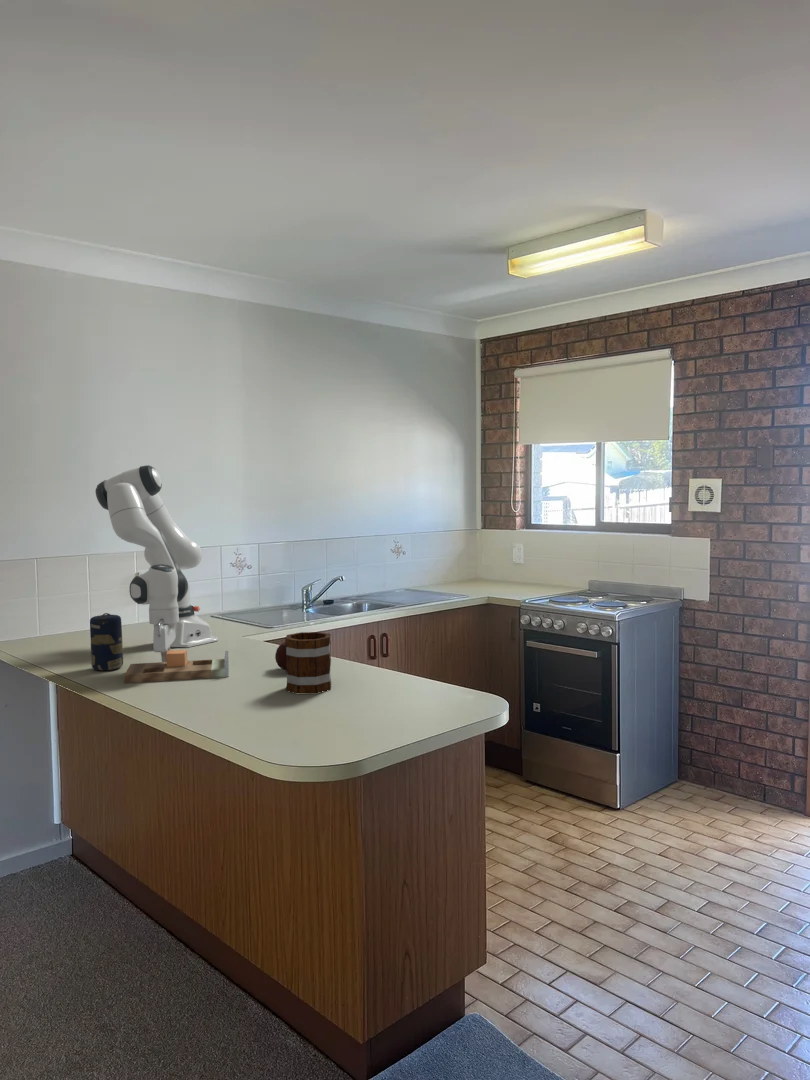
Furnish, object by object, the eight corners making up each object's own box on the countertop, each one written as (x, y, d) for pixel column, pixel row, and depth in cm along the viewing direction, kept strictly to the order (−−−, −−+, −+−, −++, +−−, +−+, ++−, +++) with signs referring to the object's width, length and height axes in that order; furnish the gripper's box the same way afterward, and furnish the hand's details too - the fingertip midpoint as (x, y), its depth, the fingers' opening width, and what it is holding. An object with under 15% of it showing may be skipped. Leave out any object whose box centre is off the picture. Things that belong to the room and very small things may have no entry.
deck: (124, 683, 233) (124, 674, 233) (130, 671, 248) (130, 663, 248) (225, 677, 239) (224, 668, 239) (225, 666, 254) (225, 658, 254)
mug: (319, 696, 216) (318, 642, 215) (276, 692, 221) (275, 639, 220) (349, 679, 234) (348, 629, 233) (308, 676, 239) (307, 627, 238)
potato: (293, 665, 255) (292, 636, 254) (312, 671, 245) (311, 642, 245) (269, 669, 250) (268, 640, 249) (287, 675, 240) (287, 645, 239)
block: (166, 666, 243) (166, 653, 243) (169, 662, 248) (169, 650, 248) (184, 666, 244) (184, 653, 243) (187, 662, 249) (187, 649, 249)
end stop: (225, 677, 239) (224, 660, 239) (225, 666, 254) (225, 650, 254) (228, 676, 239) (228, 660, 239) (228, 666, 254) (228, 650, 254)
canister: (129, 667, 255) (127, 611, 254) (107, 673, 246) (105, 616, 245) (107, 664, 259) (105, 610, 258) (84, 670, 250) (82, 614, 249)
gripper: (169, 622, 235) (170, 667, 236) (179, 611, 256) (180, 653, 256) (147, 622, 234) (148, 668, 235) (159, 612, 255) (160, 654, 256)
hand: (165, 660), depth 246 cm, fingers closed, pressing on block
